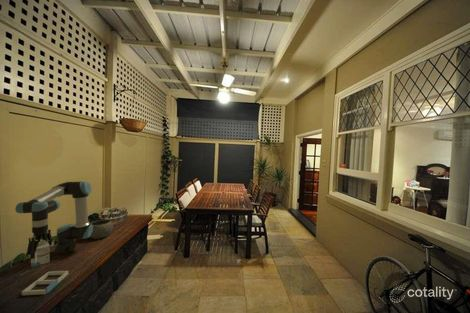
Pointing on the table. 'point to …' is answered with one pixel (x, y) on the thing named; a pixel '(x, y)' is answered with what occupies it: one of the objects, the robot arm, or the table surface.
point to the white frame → (42, 281)
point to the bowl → (101, 228)
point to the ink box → (42, 254)
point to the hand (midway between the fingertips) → (40, 258)
